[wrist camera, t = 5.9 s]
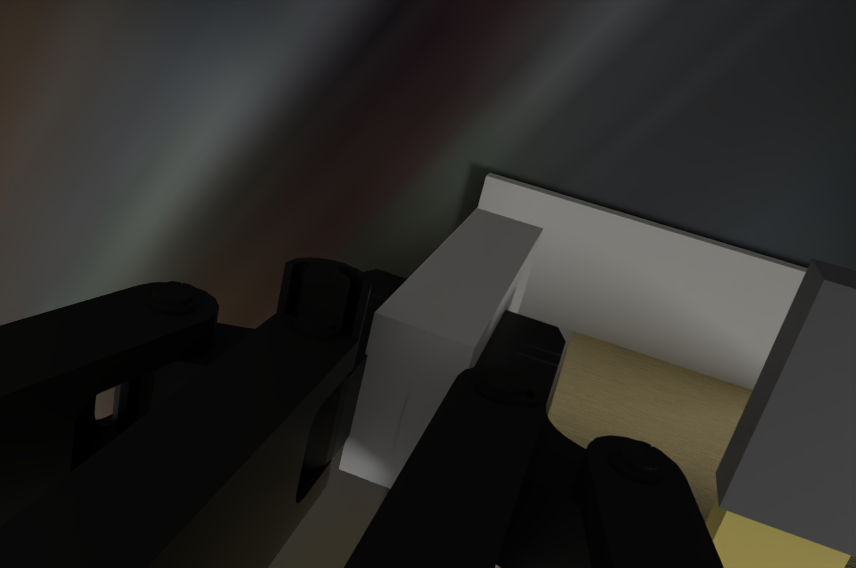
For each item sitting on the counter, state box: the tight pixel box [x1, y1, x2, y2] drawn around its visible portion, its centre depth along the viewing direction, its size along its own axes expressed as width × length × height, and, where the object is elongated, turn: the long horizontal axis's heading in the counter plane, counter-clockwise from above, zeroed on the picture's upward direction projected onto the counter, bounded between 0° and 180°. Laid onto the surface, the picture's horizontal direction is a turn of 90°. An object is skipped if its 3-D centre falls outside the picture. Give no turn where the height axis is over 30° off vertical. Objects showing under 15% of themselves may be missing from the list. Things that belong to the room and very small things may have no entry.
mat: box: [478, 173, 807, 410], centre depth 30 cm, size 18×19×1 cm
